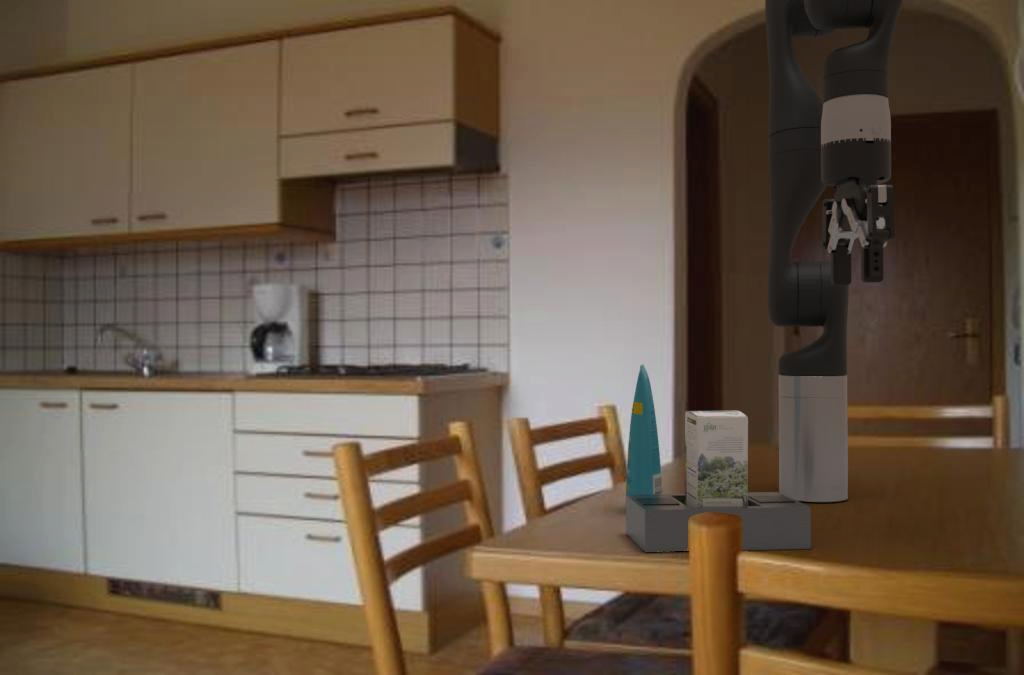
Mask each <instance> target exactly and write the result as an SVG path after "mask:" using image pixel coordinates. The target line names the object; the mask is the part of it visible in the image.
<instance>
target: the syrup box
mask: <svg viewBox="0 0 1024 675" xmlns="http://www.w3.org/2000/svg"><path fill="white" fill-rule="evenodd" d="M748 447H749V417H748V416H747V415H746V414H745V413H744V412H742V411H740V410H736V409H735V410H732V409H731V410H685V414H684V494H685V505H686V506H687V507H689V508H697V507H744V506H748V497H747V496H748V493H749V492H748V483H749V482H748V477H749V474H748V473H749V472H748V470H749V468H748V467H749V463H748V462H749V459H748V458H749V454H748V453H749V448H748Z"/></svg>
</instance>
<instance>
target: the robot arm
mask: <svg viewBox="0 0 1024 675" xmlns="http://www.w3.org/2000/svg"><path fill="white" fill-rule="evenodd" d="M903 3H904V0H764V4H765V6H764V7H765V9H764V11H765V13H764V15H765V30H766V31H765V32H766V43H767V44H766V46H767V59H768V61H767V62H768V74H769V75H768V76H769V103H768V104H769V107H768V110H769V111H768V114H769V116H768V139H767V140H768V173H769V174H768V177H769V179H768V180H769V197H770V198H769V200H770V201H769V202H770V203H769V204H770V206H769V208H770V220H769V221H770V227H769V229H770V230H769V248H768V270H767V286H766V288H767V291H766V292H767V293H766V296H767V298H766V300H767V309H768V310H767V311H768V316H769V319H770V321H771V322H772V324H773V325H774V326H777V327H782V328H783V327H785V328H787V327H788V328H789V327H792V328H793V327H794V328H795V327H798V328H799V327H802V328H803V327H805V328H806V327H807V328H808V327H812V328H813V327H822V328H823V330H822V333H821V335H820V336H819V337H818V338H817V339H815V340H814V341H813V342H811V343H809V344H807V345H805V346H803V347H801V348H797V349H796V350H792V351H787V352H786V353H783V354H781V356H780V357H779V360H778V458H779V459H778V462H779V463H778V464H779V465H778V480H779V481H778V487H779V488H778V490H779V491H778V492H779V493H781V494H783V495H785V496H787V497H790V498H792V499H794V500H796V501H799V502H807V503H808V502H809V503H810V502H811V503H832V502H833V503H834V502H835V503H836V502H842V501H846V500H848V498H849V497H848V495H849V494H848V493H849V491H848V489H849V488H848V485H849V484H848V483H849V480H848V479H849V477H848V476H849V463H848V462H849V458H848V457H849V450H848V449H849V448H848V447H849V439H848V436H849V434H848V427H849V426H848V422H849V421H848V420H849V418H848V413H849V412H848V358H847V357H848V355H847V353H848V351H847V350H848V349H847V348H848V347H847V346H848V345H847V343H848V342H847V340H848V339H847V334H848V333H847V332H848V313H849V298H850V297H849V296H850V295H849V292H850V291H849V290H850V289H849V288H850V285H851V283H852V253H851V252H852V249H853V245H854V243H855V242H854V241H855V240H856V239H859V242H860V246H861V247H862V248H861V249H860V280H861V281H862V282H863V283H865V284H866V283H868V284H870V283H882V281H883V280H884V248H885V247H886V246H887V245H888V241H893V240H895V233H896V232H895V208H894V207H895V204H894V202H895V201H894V187H893V185H892V184H884V183H886V182H888V181H890V180H891V178H892V136H891V135H892V133H891V130H892V122H891V111H890V105H889V63H890V62H889V61H890V53H891V49H892V48H891V46H892V42H893V39H894V34H895V30H896V26H897V23H898V19H899V17H900V13H901V11H902V6H903ZM853 29H855V30H856V29H868V34H867V38H866V39H864V40H862V41H861V42H857V43H854V44H851V45H846V46H843V47H839V48H836V49H833V50H832V51H830V52H829V53H828V54H827V55H826V56H825V58H824V61H823V66H822V97H821V95H820V94H819V93H818V91H817V90H816V89H815V88H814V86H813V85H812V83H811V82H810V81H809V79H808V78H807V76H806V75H805V72H804V71H803V69H802V68H801V66H800V63H799V61H798V59H797V56H796V53H795V50H794V46H793V41H792V39H802V38H803V39H807V38H810V39H811V38H823V37H829V36H831V35H835V34H836V33H838V32H839V31H841V30H853ZM827 187H833V188H834V190H835V191H834V198H832V199H831V198H830V199H825V198H824V199H823V201H822V218H821V219H822V225H821V226H822V227H821V231H822V232H821V235H822V236H821V247H822V249H823V250H827V252H828V254H830V260H804V261H803V260H800V261H797V260H794V261H793V260H792V251H793V248H794V244H795V242H796V239H797V237H798V234H799V232H800V231H801V229H802V227H803V224H804V223H805V221H806V219H807V217H808V216H809V214H810V212H811V210H812V209H813V208H814V206H815V205H816V203H818V200H819V199H820V198H821V196H822V194H823V193H824V191H825V189H827Z"/></svg>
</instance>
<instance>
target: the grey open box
mask: <svg viewBox="0 0 1024 675" xmlns="http://www.w3.org/2000/svg"><path fill="white" fill-rule="evenodd" d="M747 497H748V506H744V507H697V508H689V507H687V506H686V505H685V493H665V494H664V493H662V494H651V495H626V494H625V523H626V524H625V534H626V535H627V536H628V537H629V538H630V539H631V540H632V542H633V543H635V545H637V546H638V548H640V550H642V551H643V550H644V551H645V552H657V551H684V550H686V551H687V548H688V520H689V518H690V517H691V516H693V515H695V514H699V513H704V512H717V513H729V514H735V515H739V516H740V517H741V518H742V524H743V529H742V547H743V550H742V551H772V550H777V551H778V550H780V551H781V550H811V549H812V548H811V546H812V544H811V543H812V542H811V540H812V536H811V535H812V534H811V533H812V531H811V529H812V528H811V525H812V523H811V518H812V517H811V512H812V511H811V506H810V505H807V504H805V503H803V502H802V501H797V500H794V499H792V498H790V497H787V496H785V495H783V494H781V493H779V491H766V492H765V491H764V492H763V491H760V492H759V491H758V492H756V491H755V492H754V491H753V492H748V496H747ZM644 551H643V552H644ZM645 552H644V553H645Z"/></svg>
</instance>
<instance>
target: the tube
mask: <svg viewBox="0 0 1024 675" xmlns="http://www.w3.org/2000/svg"><path fill="white" fill-rule="evenodd" d="M649 377H650V376H649V374H648V371H647V369H646V367H645V365H644V364H643V363H642V364H640V366H639V372H638V376H637V381H636V385H635V390H634V391H635V392H634V397H633V402H632V408H631V415H630V424H629V425H630V426H629V434H628V435H629V436H628V447H627V458H626V459H627V460H626V461H627V462H626V463H627V464H626V484H625V485H626V486H625V487H626V488H625V496H626V495H651V494H663V484H662V483H663V482H662V480H663V479H662V467H661V454H660V444H659V435H658V434H659V433H658V426H657V425H658V424H657V417H656V409H655V403H654V397H653V390H652V386H651V385H652V384H651V381H650V378H649Z"/></svg>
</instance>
